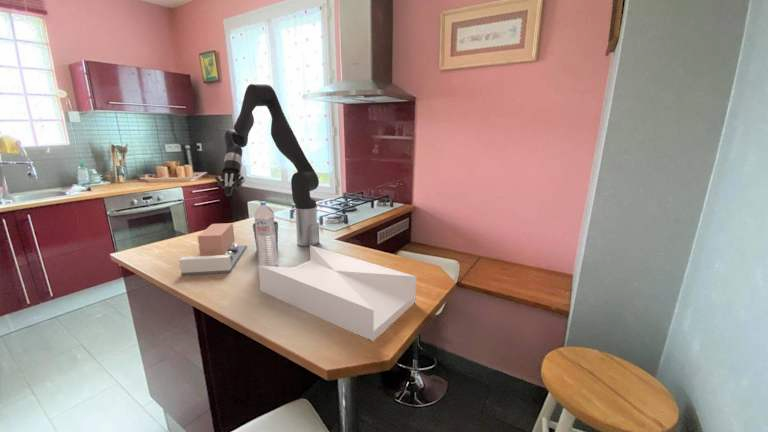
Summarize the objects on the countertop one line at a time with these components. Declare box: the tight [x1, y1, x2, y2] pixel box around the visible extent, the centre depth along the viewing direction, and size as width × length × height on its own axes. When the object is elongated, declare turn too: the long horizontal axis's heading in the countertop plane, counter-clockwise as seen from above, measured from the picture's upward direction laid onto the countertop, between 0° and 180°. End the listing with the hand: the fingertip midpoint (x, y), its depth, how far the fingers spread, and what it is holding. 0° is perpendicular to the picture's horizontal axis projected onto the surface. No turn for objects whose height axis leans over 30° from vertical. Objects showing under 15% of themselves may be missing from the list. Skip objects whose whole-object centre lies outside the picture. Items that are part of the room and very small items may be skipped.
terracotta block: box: [197, 222, 236, 256], centre depth 126 cm, size 16×8×8 cm, turn 10°
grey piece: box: [178, 244, 248, 276], centre depth 124 cm, size 26×16×6 cm, turn 10°
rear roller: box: [227, 243, 239, 251], centre depth 131 cm, size 13×3×3 cm, turn 100°
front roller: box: [197, 251, 234, 258], centre depth 123 cm, size 13×3×3 cm, turn 100°
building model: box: [257, 245, 418, 342], centre depth 98 cm, size 45×22×10 cm, turn 57°
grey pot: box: [252, 220, 279, 251], centre depth 135 cm, size 10×10×12 cm
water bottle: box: [253, 201, 278, 267], centre depth 118 cm, size 7×7×25 cm
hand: (227, 195), depth 140 cm, fingers closed
